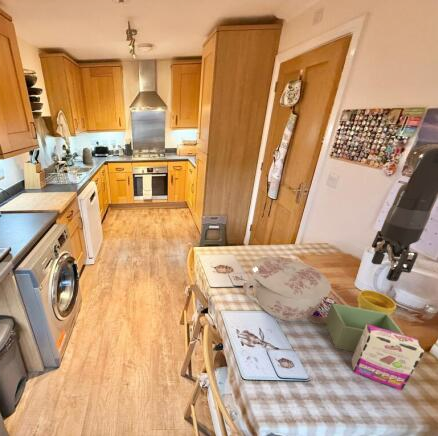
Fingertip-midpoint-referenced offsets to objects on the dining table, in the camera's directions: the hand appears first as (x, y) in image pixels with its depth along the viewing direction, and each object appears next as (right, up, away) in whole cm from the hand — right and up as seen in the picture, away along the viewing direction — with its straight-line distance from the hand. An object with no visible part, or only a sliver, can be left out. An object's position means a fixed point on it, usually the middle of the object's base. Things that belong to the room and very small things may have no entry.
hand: (383, 271), depth 69 cm
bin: (+5, -28, +14) cm, 32 cm away
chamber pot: (-14, -22, +30) cm, 40 cm away
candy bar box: (0, -33, +3) cm, 33 cm away
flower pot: (+18, -24, +23) cm, 37 cm away
